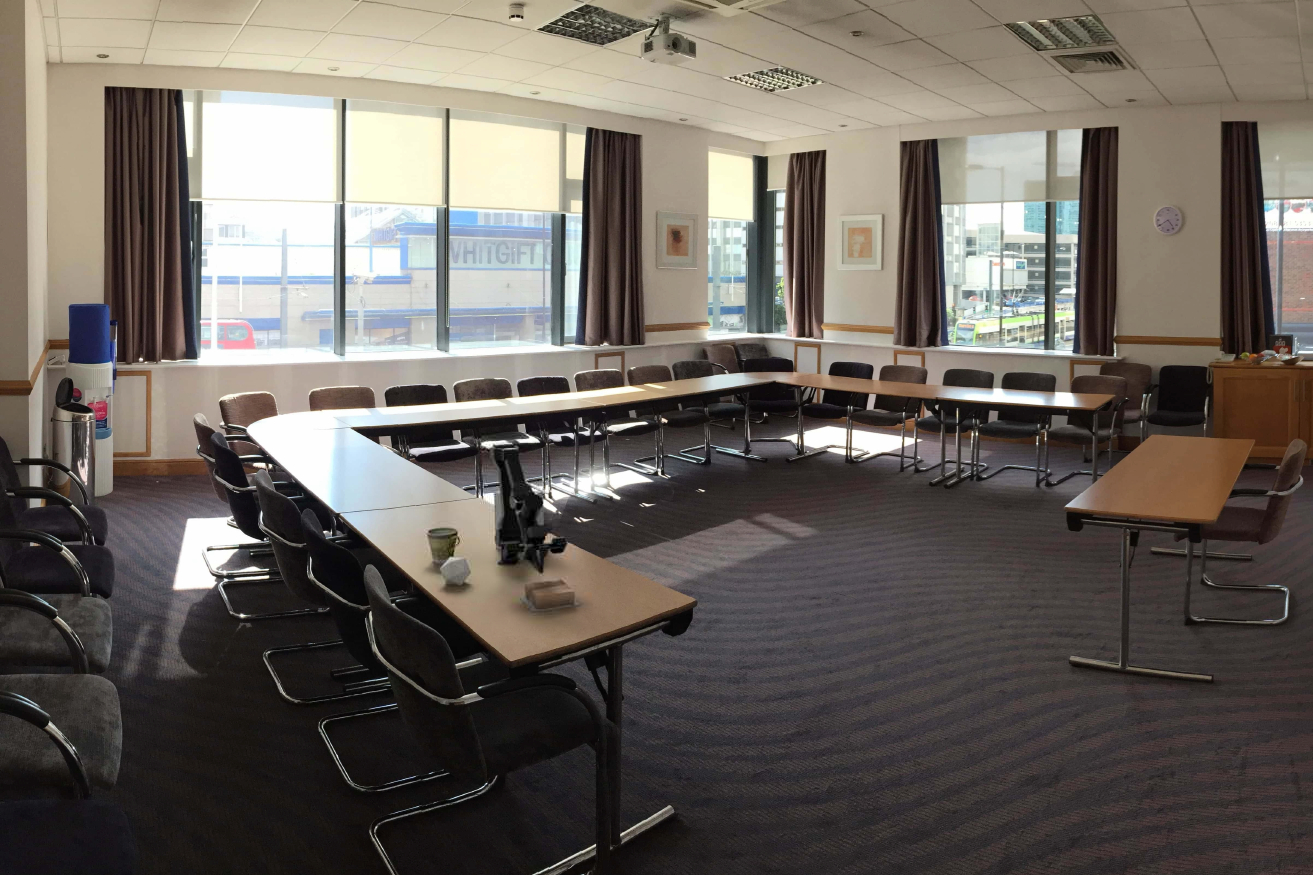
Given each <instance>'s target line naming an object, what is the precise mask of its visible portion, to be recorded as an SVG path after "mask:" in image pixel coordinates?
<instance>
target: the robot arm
mask: <svg viewBox="0 0 1313 875" xmlns="http://www.w3.org/2000/svg"><path fill="white" fill-rule="evenodd" d="M489 456H490V459H491V462H492V465H493V466H494V468H495V469H496V470H497V473H498V485H499V491H500V498H501V510H502V516H501V518H500V520H499V522H498V528H497V531H496V533H495V535H494V544H495V546H496V545H497V546H498V547H500V546H501V549H500V559H499V561H497V564H498V565H517V566H518V564H519V563H520V562H521V561H522V559H523V560H524V561H527V562H528V563H529V564H530V565H532V567H533V568H534V569H535V570H536V571H537V572H538V573H539V575H541V574H543V573H544V569H545V568H544V566H545V558H547V557H548V554H549V552H550V553H552V554H553V555H556V554H562V553H564V552H565V550H566V548H567V545H568V541H567V538H566V537H565V536H559V537H558V536H556V537H552V539H551V541H550V542H545V541H546V538H547V537H548V534H552V533H553V526H552V522H551V521H549V522H547V521H546V522H544V525H539V524H538V520H537V518H538V517H539V515H540V512H541V509H542V507H543V508H544V498H543V499H542V498H541V497H540V496H539V495H536V494H535V492H534V491H535V490H533V489H532V486H530V484H528V483H527V482H526V478H525V476H524V471H523V468H522V464H521V460H520V451H519V446H517V445H514V444H513V442H501V443H493V444H492V446H491V447H489ZM520 510H521V511H520ZM516 511H520V512H519V514H518V516H517V514H516ZM546 536H547V537H546ZM543 541H544V542H543ZM523 543H524V546H520V545H519V544H523ZM520 553H522V554H523V557H519V554H520Z"/></svg>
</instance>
